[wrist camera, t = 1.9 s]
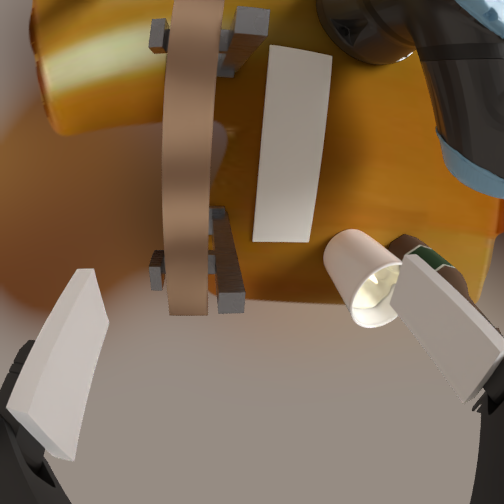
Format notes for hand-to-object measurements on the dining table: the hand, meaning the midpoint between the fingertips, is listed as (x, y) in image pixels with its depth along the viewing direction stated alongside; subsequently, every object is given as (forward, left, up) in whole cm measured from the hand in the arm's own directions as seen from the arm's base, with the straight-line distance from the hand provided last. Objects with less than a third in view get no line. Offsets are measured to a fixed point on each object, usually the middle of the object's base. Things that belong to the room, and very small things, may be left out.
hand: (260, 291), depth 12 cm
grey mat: (-3, +9, -27) cm, 28 cm away
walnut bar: (-3, -3, -15) cm, 15 cm away
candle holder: (+12, +20, -27) cm, 35 cm away
